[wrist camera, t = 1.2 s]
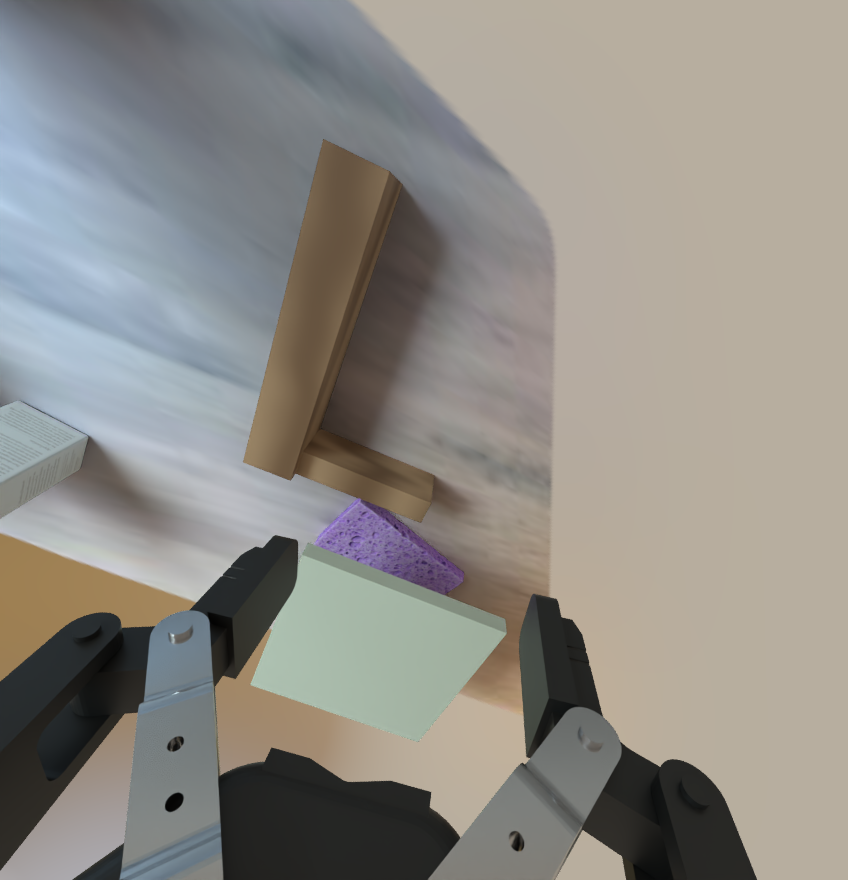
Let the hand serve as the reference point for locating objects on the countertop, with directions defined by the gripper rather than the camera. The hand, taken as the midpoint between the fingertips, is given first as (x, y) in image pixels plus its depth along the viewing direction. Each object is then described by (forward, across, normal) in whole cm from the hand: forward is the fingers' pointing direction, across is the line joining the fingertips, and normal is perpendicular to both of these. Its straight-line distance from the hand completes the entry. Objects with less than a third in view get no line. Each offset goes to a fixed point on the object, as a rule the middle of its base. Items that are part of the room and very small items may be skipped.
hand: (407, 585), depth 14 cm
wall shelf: (+20, +4, +16) cm, 26 cm away
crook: (+18, +5, -4) cm, 19 cm away
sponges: (+20, +4, +15) cm, 25 cm away
